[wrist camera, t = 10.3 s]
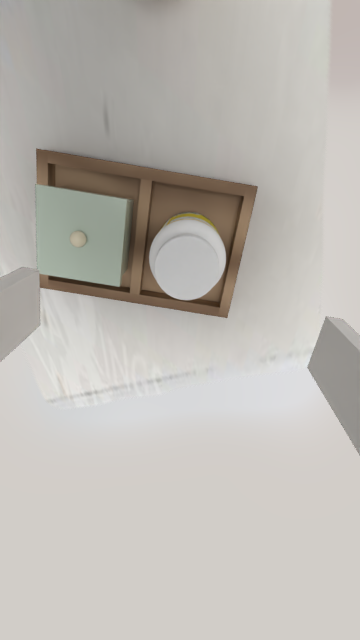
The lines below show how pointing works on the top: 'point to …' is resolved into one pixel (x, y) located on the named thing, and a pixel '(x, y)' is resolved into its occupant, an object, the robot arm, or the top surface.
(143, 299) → the organizer tray
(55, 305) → the top surface
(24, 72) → the top surface
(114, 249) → the trinket box
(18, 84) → the top surface
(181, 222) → the pill bottle
